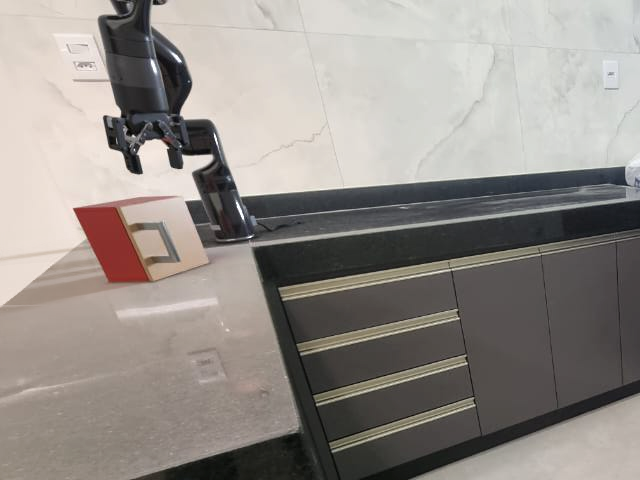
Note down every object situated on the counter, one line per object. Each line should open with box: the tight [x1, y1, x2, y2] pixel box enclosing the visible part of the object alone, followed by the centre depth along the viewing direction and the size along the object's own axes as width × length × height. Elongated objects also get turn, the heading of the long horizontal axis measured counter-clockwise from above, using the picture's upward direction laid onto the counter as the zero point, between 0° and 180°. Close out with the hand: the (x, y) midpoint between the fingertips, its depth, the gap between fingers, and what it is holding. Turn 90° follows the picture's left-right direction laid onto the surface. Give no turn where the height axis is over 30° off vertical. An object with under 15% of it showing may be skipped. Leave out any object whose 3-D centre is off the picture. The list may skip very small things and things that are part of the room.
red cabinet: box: [72, 195, 179, 283], centre depth 123 cm, size 10×16×17 cm, turn 175°
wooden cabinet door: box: [116, 195, 210, 282], centre depth 122 cm, size 7×16×16 cm, turn 175°
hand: (157, 171), depth 106 cm, fingers open, 8 cm apart
